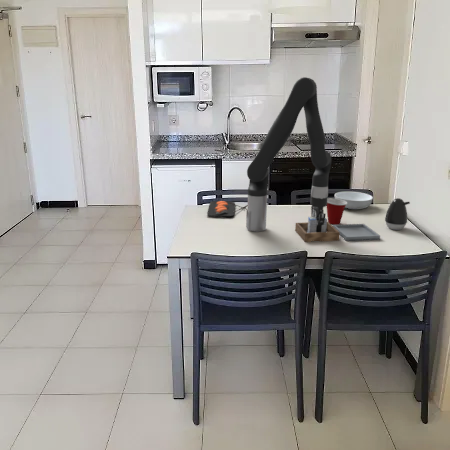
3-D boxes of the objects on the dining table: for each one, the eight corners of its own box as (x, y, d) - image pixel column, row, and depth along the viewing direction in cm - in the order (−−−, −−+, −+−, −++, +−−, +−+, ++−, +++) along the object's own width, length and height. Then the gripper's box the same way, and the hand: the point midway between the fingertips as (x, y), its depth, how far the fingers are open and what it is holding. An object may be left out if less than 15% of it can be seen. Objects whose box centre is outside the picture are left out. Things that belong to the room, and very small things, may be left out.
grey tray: (346, 241, 209) (346, 237, 209) (332, 228, 226) (332, 224, 226) (379, 239, 211) (380, 235, 211) (363, 227, 228) (364, 223, 228)
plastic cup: (345, 227, 228) (348, 204, 225) (323, 226, 230) (325, 202, 227) (345, 221, 239) (347, 198, 235) (323, 219, 241) (325, 197, 237)
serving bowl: (358, 214, 250) (359, 202, 248) (326, 206, 264) (327, 195, 262) (378, 207, 263) (380, 196, 261) (347, 200, 278) (348, 189, 276)
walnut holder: (304, 242, 208) (305, 233, 207) (295, 230, 223) (295, 222, 222) (339, 240, 210) (339, 232, 209) (327, 229, 225) (327, 221, 224)
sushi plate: (210, 204, 270) (210, 197, 269) (261, 205, 269) (262, 198, 268) (206, 218, 243) (206, 211, 241) (263, 219, 241) (264, 212, 240)
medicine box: (323, 233, 219) (324, 216, 216) (326, 237, 215) (327, 219, 212) (307, 234, 219) (308, 216, 216) (309, 237, 214) (310, 219, 212)
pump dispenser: (402, 233, 221) (406, 202, 216) (381, 228, 227) (384, 198, 222) (409, 227, 228) (413, 198, 224) (388, 223, 234) (391, 194, 230)
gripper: (306, 191, 217) (304, 226, 222) (316, 199, 203) (313, 236, 209) (322, 191, 218) (319, 225, 223) (332, 199, 204) (329, 235, 210)
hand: (316, 230), depth 216 cm, fingers closed on medicine box, 4 cm apart
